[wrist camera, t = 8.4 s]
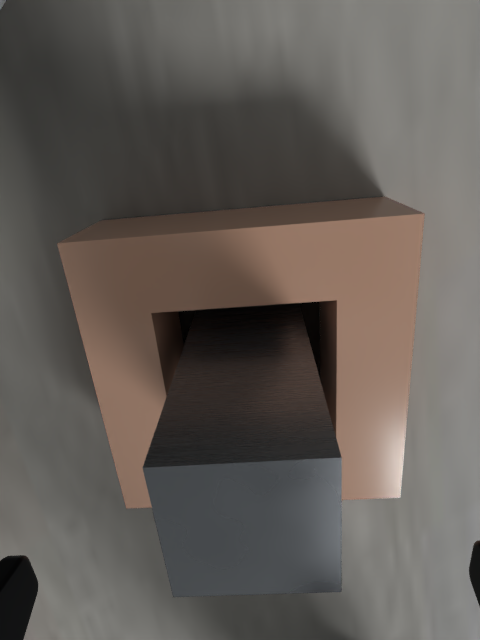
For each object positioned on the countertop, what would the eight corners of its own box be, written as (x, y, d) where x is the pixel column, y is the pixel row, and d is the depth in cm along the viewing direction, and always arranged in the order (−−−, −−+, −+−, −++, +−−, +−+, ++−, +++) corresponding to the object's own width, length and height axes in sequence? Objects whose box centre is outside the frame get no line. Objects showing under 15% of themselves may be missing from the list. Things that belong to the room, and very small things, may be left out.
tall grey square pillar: (299, 373, 19) (341, 591, 10) (211, 378, 19) (173, 596, 10) (295, 289, 17) (342, 457, 8) (200, 297, 18) (142, 467, 8)
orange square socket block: (373, 432, 20) (400, 497, 16) (148, 443, 21) (126, 508, 17) (384, 196, 16) (424, 213, 12) (101, 220, 16) (57, 243, 13)
